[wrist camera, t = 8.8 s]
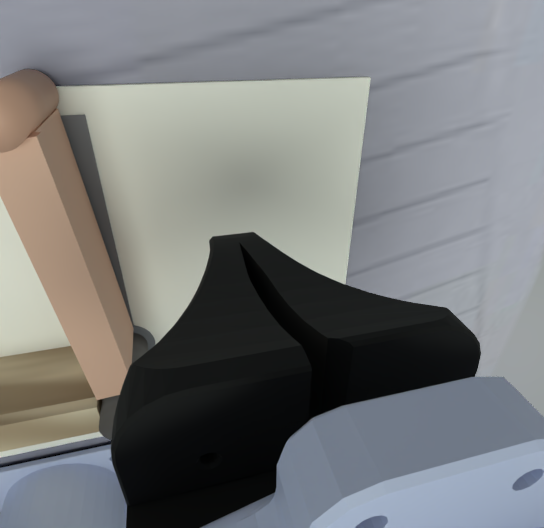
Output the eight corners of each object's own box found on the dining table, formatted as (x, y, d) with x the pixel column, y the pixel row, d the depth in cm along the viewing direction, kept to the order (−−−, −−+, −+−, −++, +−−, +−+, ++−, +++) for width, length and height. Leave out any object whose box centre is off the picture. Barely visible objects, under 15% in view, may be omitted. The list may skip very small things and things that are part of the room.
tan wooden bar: (49, 66, 14) (10, 86, 10) (137, 327, 21) (134, 400, 17) (0, 71, 14) (-58, 93, 10) (105, 334, 21) (95, 409, 17)
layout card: (330, 385, 28) (332, 389, 28) (-17, 456, 24) (-19, 463, 23) (367, 76, 18) (371, 77, 18) (-246, 95, 13) (-257, 97, 13)
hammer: (150, 351, 23) (150, 434, 18) (-72, 389, 20) (-136, 495, 16) (144, 324, 22) (143, 405, 17) (-91, 361, 19) (-164, 466, 15)
